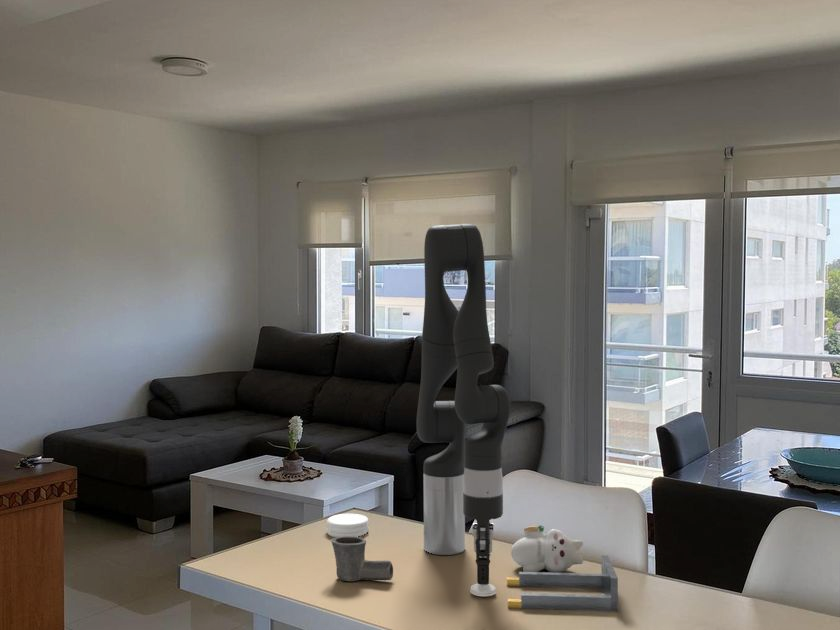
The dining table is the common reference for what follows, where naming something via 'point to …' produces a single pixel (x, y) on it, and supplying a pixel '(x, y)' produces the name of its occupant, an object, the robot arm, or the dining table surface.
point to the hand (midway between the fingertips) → (483, 580)
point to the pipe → (358, 561)
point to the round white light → (347, 525)
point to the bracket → (573, 580)
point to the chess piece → (483, 588)
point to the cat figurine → (546, 550)
